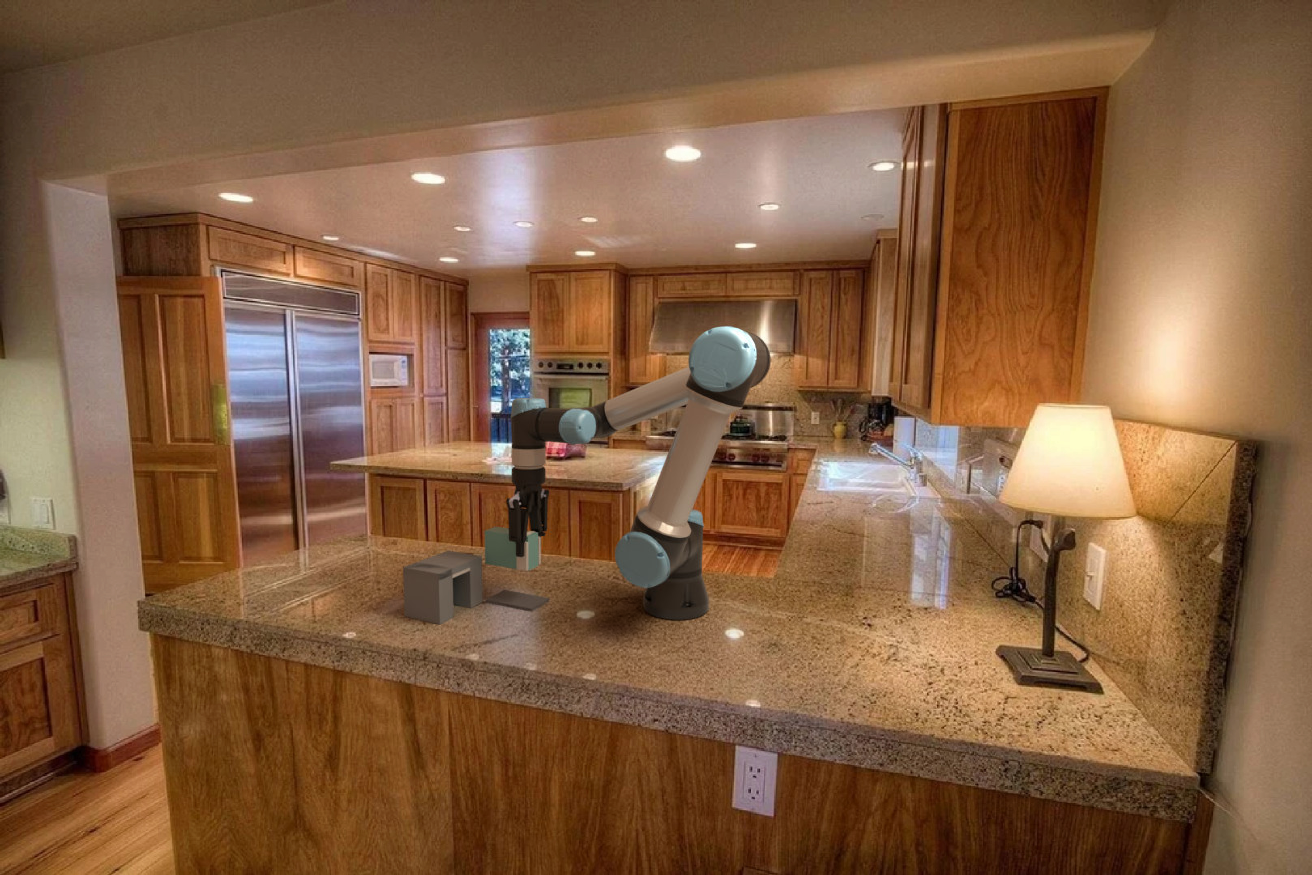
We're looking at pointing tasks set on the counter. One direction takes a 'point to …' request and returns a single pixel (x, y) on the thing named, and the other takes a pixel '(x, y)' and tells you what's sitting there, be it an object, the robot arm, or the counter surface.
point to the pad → (517, 600)
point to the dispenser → (442, 585)
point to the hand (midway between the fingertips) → (528, 566)
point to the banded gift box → (508, 548)
